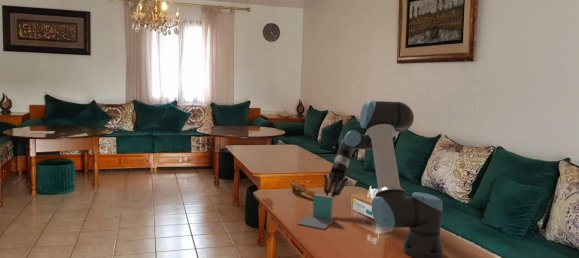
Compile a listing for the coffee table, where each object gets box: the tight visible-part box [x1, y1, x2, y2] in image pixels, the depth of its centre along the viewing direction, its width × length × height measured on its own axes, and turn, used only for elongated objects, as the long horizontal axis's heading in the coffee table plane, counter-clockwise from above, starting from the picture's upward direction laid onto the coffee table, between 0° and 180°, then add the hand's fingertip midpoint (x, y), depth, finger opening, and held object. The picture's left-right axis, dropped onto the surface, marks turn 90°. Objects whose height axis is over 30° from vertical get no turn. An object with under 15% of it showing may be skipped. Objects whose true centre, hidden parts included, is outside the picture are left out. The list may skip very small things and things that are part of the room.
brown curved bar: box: [289, 180, 317, 199], centre depth 260 cm, size 33×8×10 cm, turn 26°
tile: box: [312, 193, 335, 220], centre depth 221 cm, size 9×2×11 cm, turn 66°
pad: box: [297, 215, 335, 231], centre depth 214 cm, size 13×13×1 cm
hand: (326, 205), depth 226 cm, fingers closed
